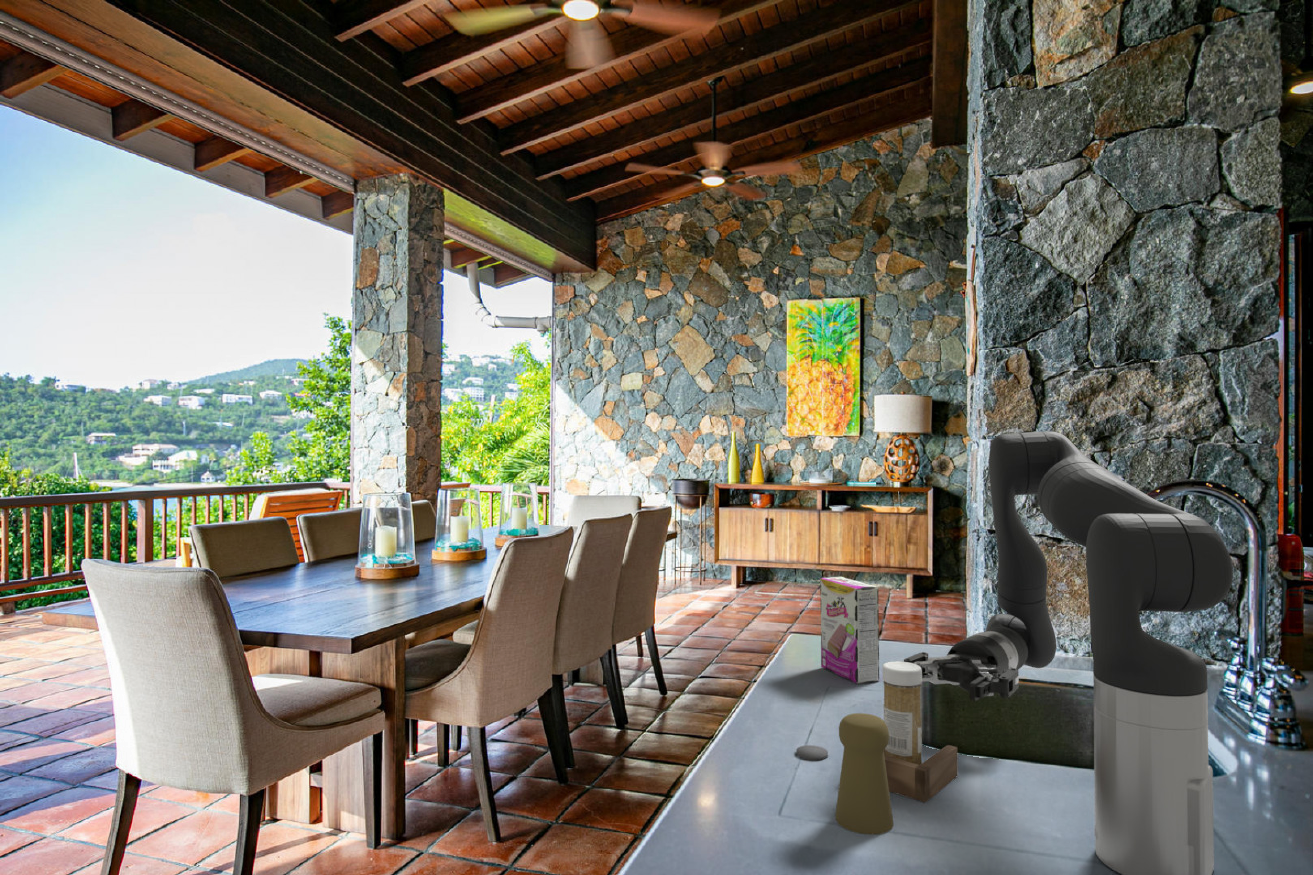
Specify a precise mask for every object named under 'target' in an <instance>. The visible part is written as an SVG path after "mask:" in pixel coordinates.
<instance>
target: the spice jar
mask: <svg viewBox="0 0 1313 875" xmlns="http://www.w3.org/2000/svg"><path fill="white" fill-rule="evenodd" d="M882 680H883V690H884V691H883V693H884V694H883V697H884V698H883V703H884V704H883V721H884V722H885V723H886V725H887V728H888V732H889V741H888V745H887V746H886V748H885V756H889V757H892V758H896V759H900V760H903V761H907V762H910V763H914V764H918V765H920V764H921V763H922V751H923V740H922V736H923V735H922V734H923V733H922V732H923V730H922V714H921V713H922V709H921V705H922V703H921V701H922V700H921V687H922V683H923V681H922V669H921V667H920V666H918V665H916V664H913V663H909V662H904V661H896V660H895V661H888V662H885V663H884V664H883V665H882Z"/></svg>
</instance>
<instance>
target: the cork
mask: <svg viewBox="0 0 1313 875" xmlns="http://www.w3.org/2000/svg"><path fill="white" fill-rule="evenodd" d="M838 737H839V741H840V743H841V744H842V746H843V752H842V762H841V769H840V776H839V784H838V793H837V799H836V800H837V802H836V806H835V807H836V808H835V815H834V817H835V818H834V819H835V822H836V823H837V824H838V825H839V826H840V827H842V828H843V829H845V830H847V831H850V832H851V833H852V832H853V833H855V834H861V835H869V836H872V835H882V834H885V833H888V832H889V831H891V830H892V829H893V828H894V826H895V825H894V816H893V809H892V803H891V796H890V791H889V787H888V780H887V773H886V765H885V758H884V751H883V750H884V749H885V748H886V746H887V745H888V741H889V732H888V728H887V725H886V723H885V722H884V719H882V718H881V717H879V716H876V715H874V714H870V713H863V712H861V713H860V712H858V713H850V714H848V715H846V716H843V718H842V719H841V720H840V722H839V726H838Z"/></svg>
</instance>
